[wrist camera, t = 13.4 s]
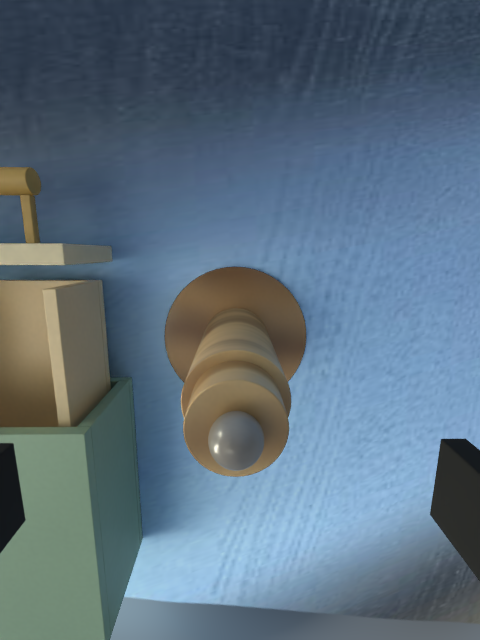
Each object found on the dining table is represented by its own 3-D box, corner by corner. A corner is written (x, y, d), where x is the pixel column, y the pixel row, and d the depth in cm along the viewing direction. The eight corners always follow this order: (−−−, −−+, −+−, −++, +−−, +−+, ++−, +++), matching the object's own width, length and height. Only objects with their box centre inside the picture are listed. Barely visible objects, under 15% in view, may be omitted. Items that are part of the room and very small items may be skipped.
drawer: (-63, 182, 25) (-188, 153, 17) (106, 183, 25) (53, 154, 17) (-21, 428, 29) (-107, 488, 21) (125, 428, 29) (87, 487, 21)
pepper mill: (203, 307, 27) (157, 386, 11) (268, 307, 27) (314, 386, 11) (204, 369, 28) (164, 522, 12) (267, 369, 28) (307, 520, 12)
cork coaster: (162, 266, 27) (161, 266, 26) (308, 266, 27) (309, 267, 27) (168, 402, 29) (167, 404, 29) (302, 401, 29) (303, 404, 29)
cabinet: (-27, 377, 29) (-149, 435, 20) (132, 376, 29) (84, 434, 20) (1, 539, 32) (-93, 653, 23) (143, 538, 32) (106, 651, 23)
